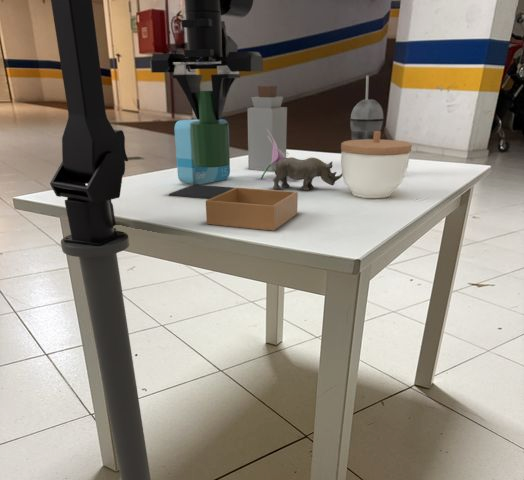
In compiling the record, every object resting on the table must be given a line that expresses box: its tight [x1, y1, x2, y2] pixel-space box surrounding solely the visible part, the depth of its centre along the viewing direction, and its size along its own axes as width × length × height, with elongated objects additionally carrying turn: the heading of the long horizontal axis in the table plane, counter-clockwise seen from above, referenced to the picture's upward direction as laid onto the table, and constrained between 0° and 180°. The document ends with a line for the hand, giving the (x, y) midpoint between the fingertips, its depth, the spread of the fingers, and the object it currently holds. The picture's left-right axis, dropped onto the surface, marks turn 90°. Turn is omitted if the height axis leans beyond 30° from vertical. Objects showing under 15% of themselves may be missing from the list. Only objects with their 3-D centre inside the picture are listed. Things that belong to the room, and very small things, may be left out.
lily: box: [260, 128, 289, 180], centre depth 108 cm, size 12×12×10 cm
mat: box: [168, 184, 234, 200], centre depth 97 cm, size 10×10×1 cm
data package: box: [174, 118, 231, 185], centre depth 104 cm, size 12×4×12 cm, turn 144°
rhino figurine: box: [272, 156, 343, 191], centre depth 98 cm, size 4×14×6 cm, turn 81°
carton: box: [205, 187, 299, 232], centre depth 78 cm, size 11×11×4 cm
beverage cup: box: [349, 75, 384, 140], centre depth 109 cm, size 7×7×20 cm
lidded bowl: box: [340, 131, 413, 199], centre depth 92 cm, size 13×13×11 cm
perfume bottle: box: [247, 85, 288, 172], centre depth 118 cm, size 7×7×18 cm
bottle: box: [190, 90, 231, 167], centre depth 88 cm, size 7×7×12 cm
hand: (209, 119), depth 87 cm, fingers closed on bottle, 3 cm apart
